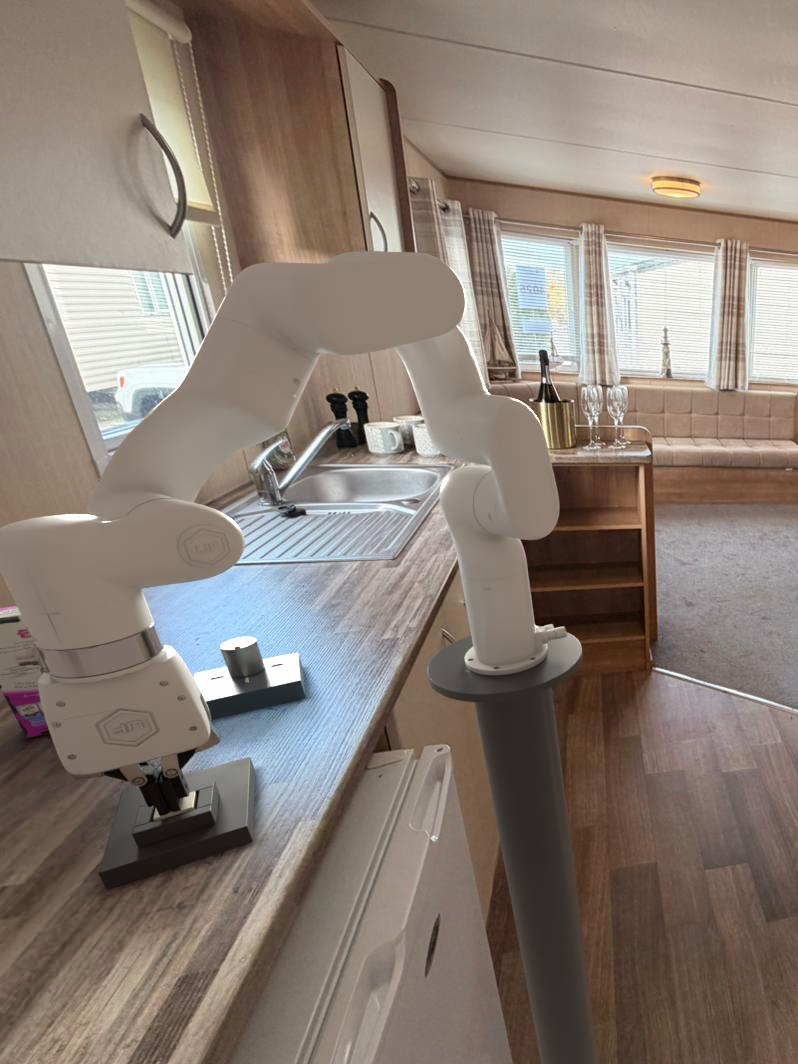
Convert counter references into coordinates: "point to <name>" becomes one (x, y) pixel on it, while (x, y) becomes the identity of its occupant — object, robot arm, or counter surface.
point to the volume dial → (242, 656)
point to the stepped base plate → (181, 825)
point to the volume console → (253, 687)
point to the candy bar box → (20, 674)
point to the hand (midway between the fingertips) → (172, 805)
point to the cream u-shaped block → (187, 805)
